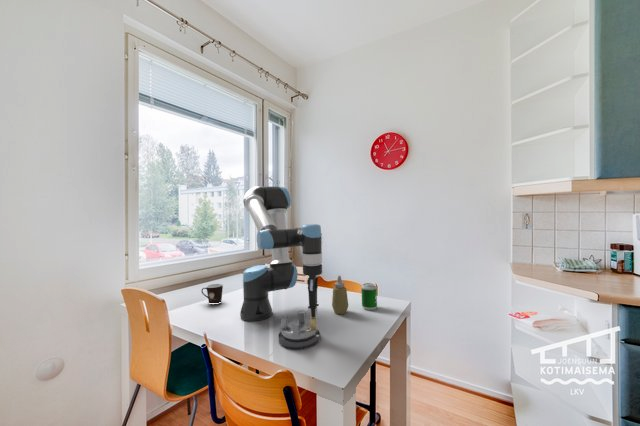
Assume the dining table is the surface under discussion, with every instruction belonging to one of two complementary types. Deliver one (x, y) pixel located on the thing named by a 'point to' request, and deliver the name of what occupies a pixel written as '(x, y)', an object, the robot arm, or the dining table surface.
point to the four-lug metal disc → (298, 328)
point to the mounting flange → (300, 344)
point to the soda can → (369, 296)
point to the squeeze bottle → (339, 297)
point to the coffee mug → (214, 293)
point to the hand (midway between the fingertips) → (313, 323)
